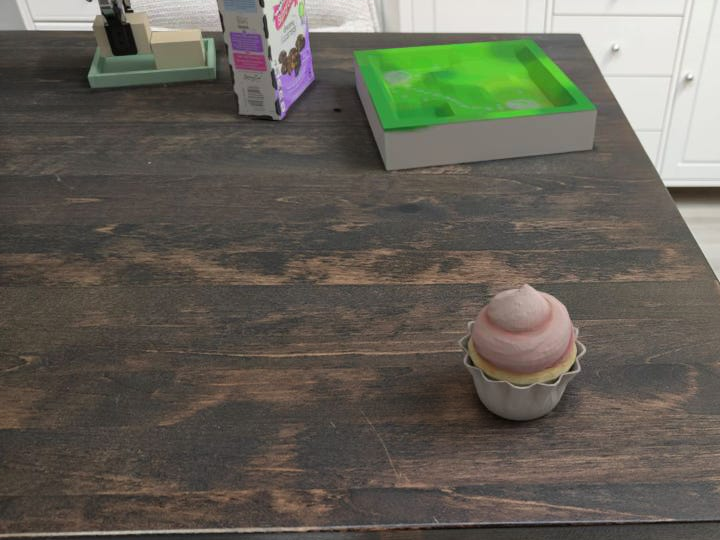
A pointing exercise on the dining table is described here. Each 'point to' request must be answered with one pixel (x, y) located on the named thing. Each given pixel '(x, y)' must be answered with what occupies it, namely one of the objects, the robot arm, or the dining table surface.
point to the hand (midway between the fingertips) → (127, 46)
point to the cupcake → (522, 353)
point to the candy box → (267, 54)
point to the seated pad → (178, 49)
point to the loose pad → (139, 30)
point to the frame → (146, 69)
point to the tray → (470, 103)
